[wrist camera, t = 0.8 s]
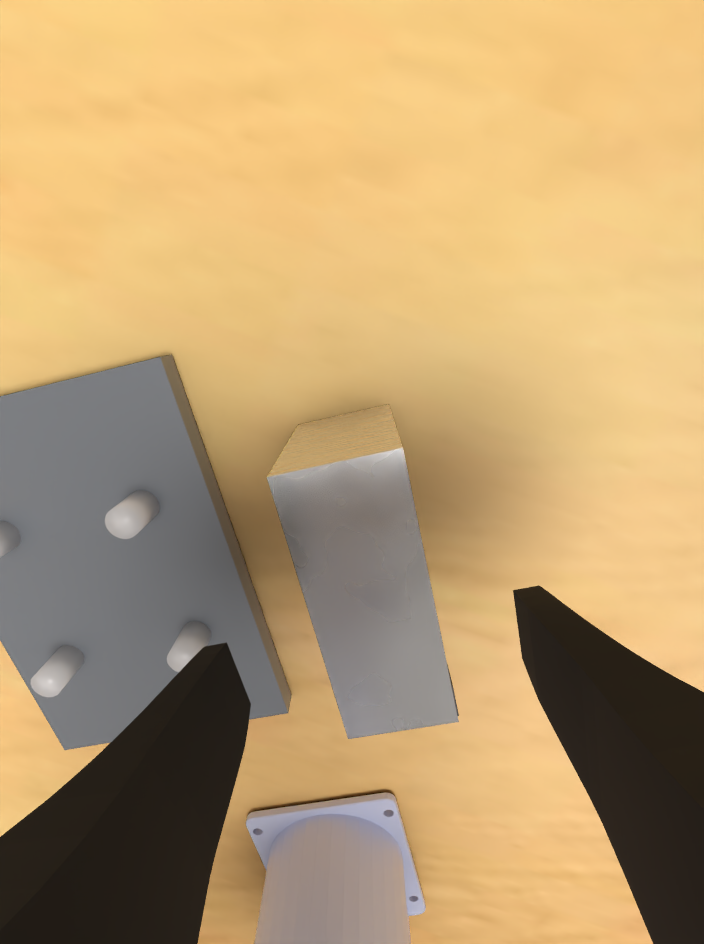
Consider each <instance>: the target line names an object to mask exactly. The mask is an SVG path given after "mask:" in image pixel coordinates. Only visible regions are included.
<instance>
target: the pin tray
mask: <svg viewBox="0 0 704 944" xmlns="http://www.w3.org/2000/svg"><path fill="white" fill-rule="evenodd" d="M0 641H1V642H2V644H3V646H4V647H5V649H6V651H7V653H8V654H9V656H10V658H11V659H12V661H13V663H14V665H15V666H16V668H17V670H18V671H19V673H20V675H21V676H22V678H23V680H24V682H25V683H26V685H27V687H28V688H29V690H30V692H31V693H32V695H33V697H34V699H35V700H36V702H37V704H38V705H39V707H40V709H41V710H42V712H43V714H44V716H45V717H46V719H47V721H48V722H49V724H50V726H51V728H52V729H53V731H54V733H55V734H56V736H57V738H58V739H59V741H60V743H61V745H62V746H63V748H64V750H68V749H74V748H80V747H86V746H92V745H98V744H104V743H110V742H112V741H113V740H114V739H115V738H116V737H117V736H118V735H119V734H120V733H121V732H122V731H123V730H124V729H125V728H126V727H127V726H128V725H129V724H130V723H131V722H132V721H133V720H134V719H135V718H136V717H137V716H138V715H139V714H140V713H141V712H142V711H143V710H144V709H145V708H146V707H147V706H148V705H149V704H150V703H151V701H152V700H153V699H154V698H155V697H156V696H157V695H158V694H159V693H160V692H161V691H162V690H163V689H164V688H165V687H166V686H167V685H168V683H169V682H170V681H171V680H172V679H173V678H174V677H175V676H176V675H177V674H178V673H179V672H180V671H181V670H182V668H183V667H184V666H185V665H186V664H187V663H188V662H189V661H190V660H191V659H192V658H193V657H194V656H195V655H196V654H197V653H198V652H199V651H200V650H201V649H202V648H203V647H205V646H210V645H216V644H221V643H227V644H228V647H229V649H230V652H231V654H232V657H233V660H234V662H235V665H236V667H237V670H238V672H239V675H240V677H241V680H242V682H243V685H244V687H245V690H246V693H247V695H248V698H249V700H250V703H251V708H250V715H249V719H255V718H261V717H267V716H273V715H279V714H285V713H288V711H289V706H290V701H291V693H290V690H289V687H288V684H287V681H286V678H285V675H284V673H283V670H282V667H281V664H280V661H279V658H278V656H277V653H276V650H275V647H274V644H273V641H272V638H271V636H270V633H269V630H268V627H267V624H266V621H265V618H264V616H263V613H262V610H261V607H260V604H259V601H258V599H257V596H256V593H255V590H254V587H253V584H252V581H251V579H250V576H249V573H248V570H247V567H246V564H245V561H244V559H243V556H242V553H241V550H240V547H239V544H238V542H237V539H236V536H235V533H234V530H233V527H232V524H231V522H230V519H229V516H228V513H227V510H226V507H225V504H224V502H223V499H222V496H221V493H220V490H219V487H218V485H217V482H216V479H215V476H214V473H213V470H212V467H211V465H210V462H209V459H208V456H207V453H206V450H205V447H204V445H203V442H202V439H201V436H200V433H199V430H198V428H197V425H196V422H195V419H194V416H193V413H192V410H191V408H190V405H189V402H188V399H187V396H186V393H185V391H184V388H183V385H182V382H181V379H180V376H179V373H178V371H177V368H176V365H175V362H174V359H173V356H172V355H167V356H162V357H158V358H154V359H150V360H146V361H142V362H138V363H133V364H129V365H125V366H121V367H117V368H113V369H109V370H105V371H101V372H97V373H93V374H89V375H85V376H81V377H77V378H73V379H69V380H65V381H61V382H57V383H53V384H49V385H45V386H41V387H37V388H33V389H29V390H25V391H20V392H16V393H12V394H8V395H4V396H0Z"/></svg>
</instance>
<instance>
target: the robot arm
mask: <svg viewBox="0 0 704 944" xmlns="http://www.w3.org/2000/svg"><path fill="white" fill-rule="evenodd" d="M513 593H514V600H515V608H516V615H517V622H518V630H519V637H520V645H521V652H522V659H523V661H524V664H525V667H526V669H527V672H528V674H529V677H530V680H531V682H532V685H533V687H534V690H535V692H536V695H537V697H538V700H539V702H540V703H541V705H542V707H543V709H544V711H545V713H546V715H547V717H548V719H549V721H550V723H551V725H552V727H553V728H554V730H555V732H556V734H557V736H558V738H559V740H560V742H561V744H562V746H563V747H564V749H565V751H566V753H567V755H568V757H569V759H570V761H571V763H572V765H573V766H574V768H575V770H576V772H577V774H578V776H579V778H580V780H581V782H582V783H583V785H584V787H585V789H586V791H587V793H588V795H589V797H590V799H591V801H592V803H593V805H594V807H595V809H596V811H597V813H598V815H599V817H600V819H601V821H602V823H603V826H604V828H605V830H606V833H607V835H608V837H609V840H610V842H611V844H612V847H613V849H614V851H615V854H616V856H617V858H618V861H619V863H620V865H621V868H622V870H623V872H624V875H625V877H626V879H627V882H628V884H629V886H630V889H631V891H632V894H633V896H634V898H635V901H636V903H637V906H638V908H639V910H640V913H641V915H642V918H643V920H644V922H645V925H646V927H647V930H648V932H649V934H650V937H651V939H652V942H653V944H704V692H702V691H700V690H698V689H696V688H695V687H693V686H691V685H689V684H687V683H685V682H683V681H681V680H679V679H678V678H676V677H674V676H672V675H670V674H669V673H667V672H665V671H663V670H662V669H660V668H658V667H656V666H655V665H653V664H651V663H650V662H648V661H647V660H645V659H643V658H642V657H640V656H638V655H637V654H635V653H634V652H632V651H630V650H629V649H627V648H626V647H624V646H623V645H621V644H620V643H618V642H617V641H615V640H614V639H612V638H611V637H609V636H608V635H606V634H605V633H604V632H602V631H601V630H599V629H598V628H596V627H595V626H593V625H592V624H591V623H589V622H588V621H586V620H585V619H584V618H582V617H581V616H579V615H578V614H577V613H575V612H574V611H573V610H571V609H570V608H569V607H567V606H566V605H565V604H563V603H562V602H561V601H559V600H558V599H557V598H555V597H554V596H553V595H551V594H550V593H549V592H548V591H546V590H545V589H543V588H542V587H540V586H534V587H529V588H523V589H518V590H513ZM250 708H251V703H250V700H249V698H248V695H247V693H246V690H245V687H244V685H243V682H242V680H241V677H240V675H239V672H238V670H237V667H236V665H235V662H234V660H233V657H232V654H231V652H230V649H229V647H228V644H227V643H221V644H216V645H210V646H205V647H203V648H202V649H201V650H200V651H199V652H198V653H197V654H196V655H195V656H194V657H193V658H192V659H191V660H190V661H189V662H188V663H187V664H186V665H185V666H184V667H183V668H182V670H181V671H180V672H179V673H178V674H177V675H176V676H175V677H174V678H173V679H172V680H171V681H170V682H169V683H168V685H167V686H166V687H165V688H164V689H163V690H162V691H161V692H160V693H159V694H158V695H157V696H156V697H155V698H154V699H153V700H152V701H151V703H150V704H149V705H148V706H147V707H146V708H145V709H144V710H143V711H142V712H141V713H140V714H139V715H138V716H137V717H136V718H135V719H134V720H133V721H132V722H131V723H130V724H129V725H128V726H127V727H126V728H125V729H124V730H123V731H122V732H121V733H120V734H119V735H118V736H117V737H116V738H115V739H114V740H113V741H112V742H111V743H110V744H109V745H108V746H107V747H106V748H105V749H104V750H103V751H102V752H101V753H100V754H99V755H98V756H96V757H95V758H94V759H93V760H92V761H91V762H90V763H89V764H88V765H87V766H86V767H84V768H83V769H82V770H81V771H80V772H79V773H78V774H77V775H76V776H74V777H73V778H72V779H71V780H70V781H69V782H67V783H66V784H65V785H64V786H63V787H62V788H61V789H59V790H58V791H57V792H56V793H55V794H54V795H52V796H51V797H50V798H49V799H48V800H46V801H45V802H44V803H43V804H41V805H40V806H39V807H38V808H36V809H35V810H34V811H33V812H31V813H30V814H29V815H28V816H26V817H25V818H24V819H22V820H21V821H20V822H19V823H17V824H16V825H15V826H14V827H12V828H11V829H10V830H8V831H7V832H6V833H5V834H3V835H2V836H1V837H0V944H197V943H198V937H199V931H200V926H201V921H202V916H203V910H204V905H205V900H206V894H207V889H208V884H209V879H210V874H211V870H212V866H213V862H214V857H215V853H216V849H217V846H218V842H219V839H220V835H221V831H222V828H223V824H224V821H225V817H226V814H227V810H228V806H229V803H230V799H231V796H232V792H233V788H234V785H235V781H236V778H237V774H238V770H239V766H240V763H241V759H242V755H243V751H244V747H245V742H246V736H247V730H248V723H249V715H250ZM246 827H247V829H248V831H249V833H250V836H251V838H252V840H253V842H254V844H255V847H256V849H257V851H258V853H259V856H260V858H261V860H262V862H263V865H264V867H265V869H266V877H265V883H264V888H263V894H262V900H261V906H260V912H259V918H258V924H257V929H256V935H255V941H254V944H411V939H410V926H409V916H411V915H419V914H422V913H423V912H424V911H425V900H424V897H423V893H422V889H421V886H420V882H419V879H418V875H417V872H416V868H415V865H414V861H413V858H412V854H411V850H410V847H409V843H408V840H407V836H406V833H405V829H404V826H403V822H402V819H401V815H400V811H399V808H398V804H397V801H396V798H395V796H394V795H393V794H391V793H378V794H371V795H364V796H357V797H350V798H343V799H337V800H330V801H323V802H316V803H309V804H302V805H295V806H289V807H282V808H275V809H268V810H261V811H254V812H251V813H250V814H248V816H247V820H246Z"/></svg>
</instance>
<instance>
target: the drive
mask: <svg viewBox="0 0 704 944" xmlns="http://www.w3.org/2000/svg"><path fill="white" fill-rule="evenodd" d="M267 480H268V483H269V486H270V489H271V493H272V496H273V499H274V502H275V505H276V509H277V512H278V515H279V518H280V521H281V525H282V528H283V531H284V534H285V537H286V541H287V544H288V547H289V550H290V554H291V557H292V560H293V563H294V566H295V570H296V573H297V576H298V579H299V582H300V586H301V589H302V592H303V595H304V599H305V602H306V605H307V608H308V611H309V615H310V618H311V621H312V624H313V627H314V631H315V634H316V637H317V640H318V643H319V647H320V650H321V653H322V656H323V660H324V663H325V666H326V669H327V672H328V676H329V679H330V682H331V685H332V688H333V692H334V695H335V698H336V701H337V705H338V708H339V711H340V714H341V717H342V721H343V724H344V727H345V730H346V733H347V737H348V739H352V738H358V737H364V736H371V735H377V734H384V733H390V732H396V731H403V730H409V729H416V728H422V727H428V726H435V725H441V724H448V723H454V722H459V721H458V716H459V715H458V710H457V705H456V700H455V695H454V690H453V685H452V681H451V677H450V673H449V669H448V665H447V662H446V657H445V652H444V647H443V642H442V638H441V633H440V628H439V623H438V618H437V613H436V608H435V603H434V598H433V593H432V588H431V583H430V578H429V574H428V569H427V564H426V559H425V554H424V549H423V544H422V539H421V534H420V529H419V524H418V519H417V514H416V510H415V505H414V500H413V495H412V490H411V485H410V480H409V475H408V470H407V465H406V460H405V455H404V451H403V446H402V443H401V440H400V437H399V434H398V431H397V427H396V424H395V421H394V418H393V415H392V412H391V408H390V405H389V404H387V405H382V406H378V407H373V408H369V409H365V410H360V411H356V412H351V413H347V414H343V415H338V416H334V417H329V418H325V419H320V420H316V421H312V422H307V423H303V424H298V426H297V427H296V429H295V431H294V432H293V434H292V436H291V437H290V439H289V441H288V442H287V444H286V446H285V447H284V449H283V451H282V452H281V454H280V456H279V457H278V459H277V461H276V462H275V464H274V466H273V468H272V469H271V471H270V473H269V474H268V476H267Z"/></svg>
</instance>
